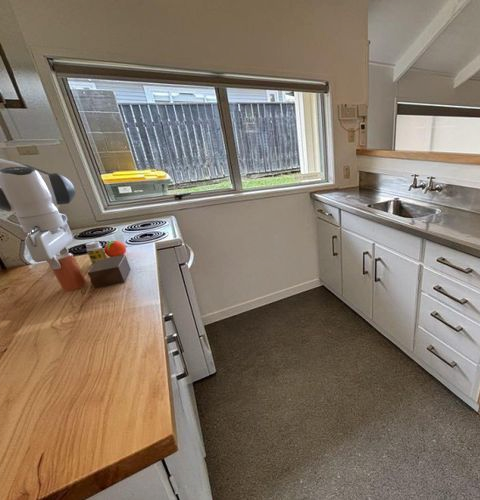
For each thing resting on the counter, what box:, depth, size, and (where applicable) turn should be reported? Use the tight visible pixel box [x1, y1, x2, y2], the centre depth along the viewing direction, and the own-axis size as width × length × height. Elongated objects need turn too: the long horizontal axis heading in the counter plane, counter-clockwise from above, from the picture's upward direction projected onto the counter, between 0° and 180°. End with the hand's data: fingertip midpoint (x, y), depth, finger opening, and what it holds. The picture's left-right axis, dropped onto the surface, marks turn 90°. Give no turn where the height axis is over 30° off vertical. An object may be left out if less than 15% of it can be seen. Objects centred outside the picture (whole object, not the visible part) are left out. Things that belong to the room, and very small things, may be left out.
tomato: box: [103, 240, 127, 258], centre depth 115 cm, size 8×7×7 cm
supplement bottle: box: [85, 240, 107, 265], centre depth 111 cm, size 5×5×8 cm
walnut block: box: [87, 254, 131, 290], centre depth 97 cm, size 8×12×6 cm, turn 28°
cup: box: [48, 252, 88, 292], centre depth 92 cm, size 11×6×6 cm
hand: (62, 264), depth 91 cm, fingers closed on cup, 6 cm apart
